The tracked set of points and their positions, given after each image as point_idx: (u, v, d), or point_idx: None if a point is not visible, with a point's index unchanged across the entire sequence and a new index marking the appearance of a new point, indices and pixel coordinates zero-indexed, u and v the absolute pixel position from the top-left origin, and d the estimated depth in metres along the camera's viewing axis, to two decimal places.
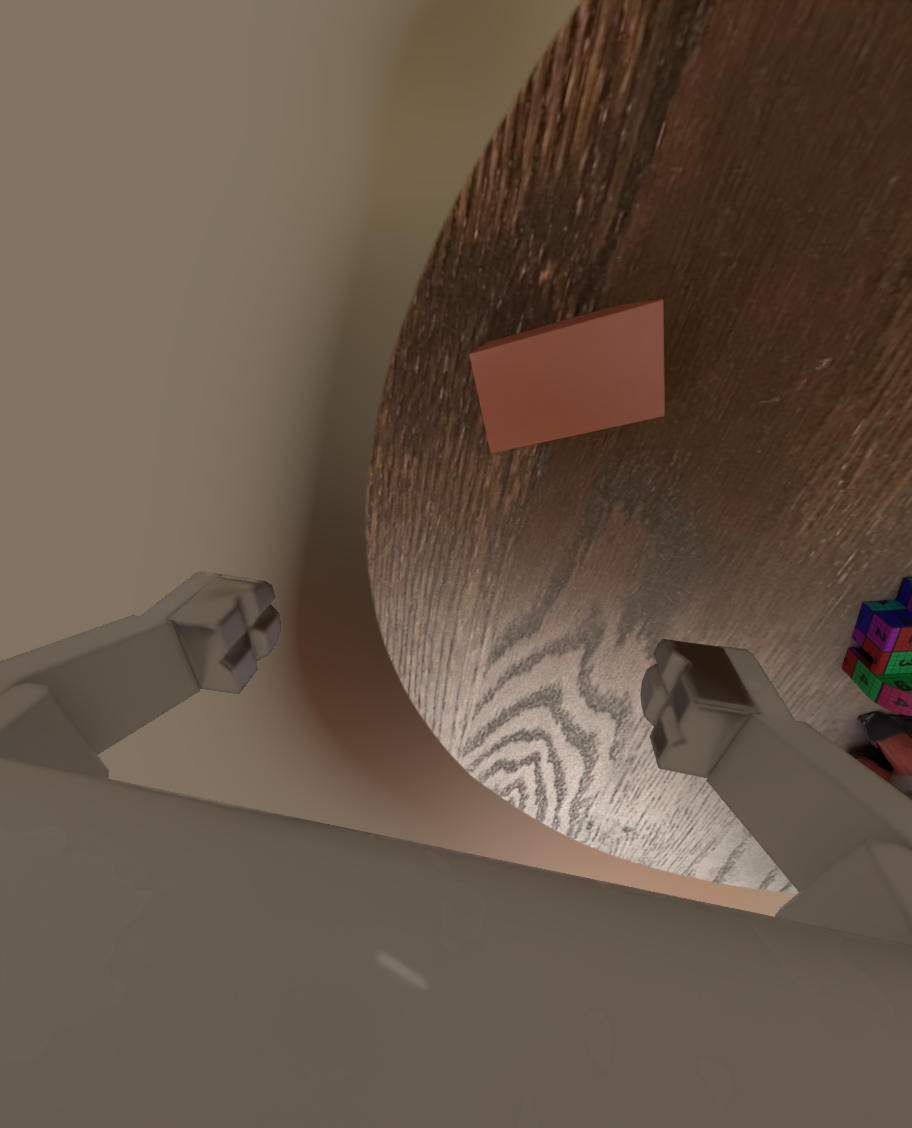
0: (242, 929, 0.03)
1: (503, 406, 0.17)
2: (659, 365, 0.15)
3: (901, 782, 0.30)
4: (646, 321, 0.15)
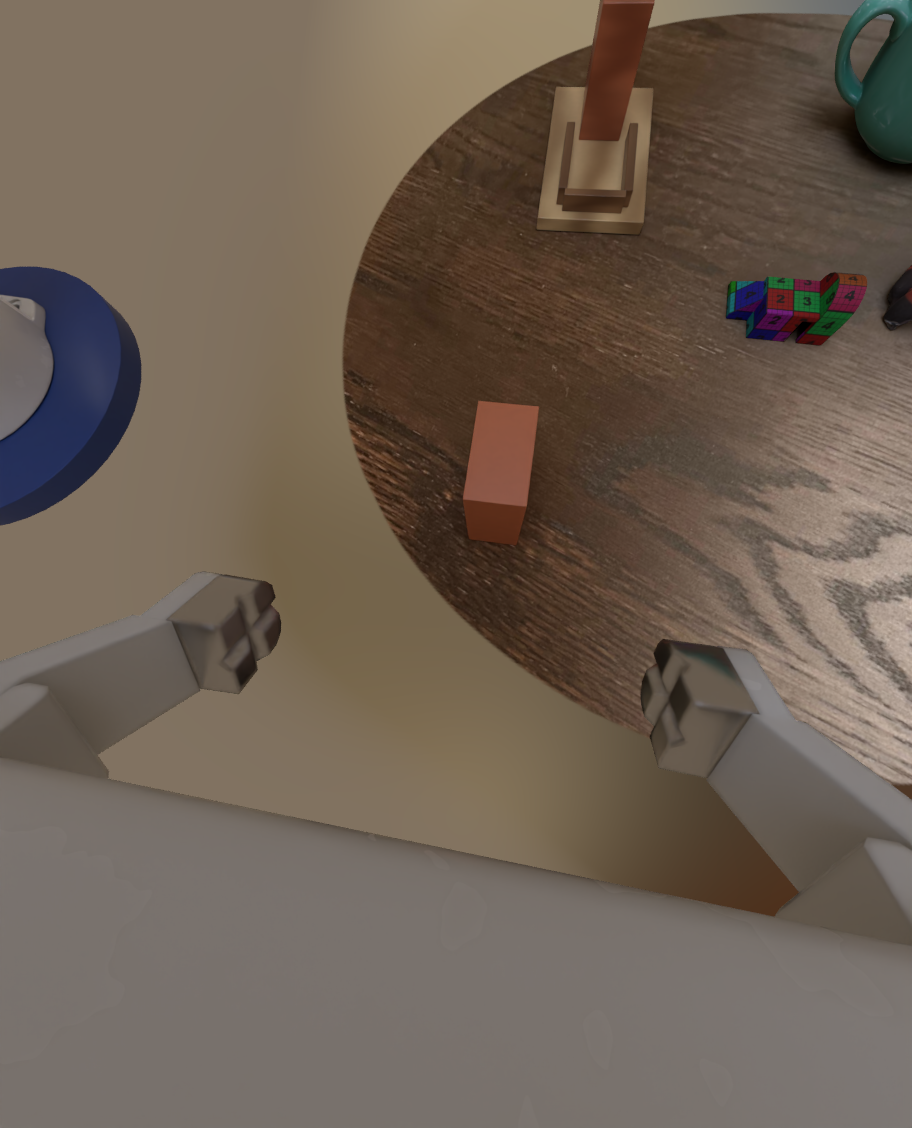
0: (242, 929, 0.03)
1: (499, 489, 0.26)
2: (509, 405, 0.27)
3: None
4: (485, 409, 0.27)
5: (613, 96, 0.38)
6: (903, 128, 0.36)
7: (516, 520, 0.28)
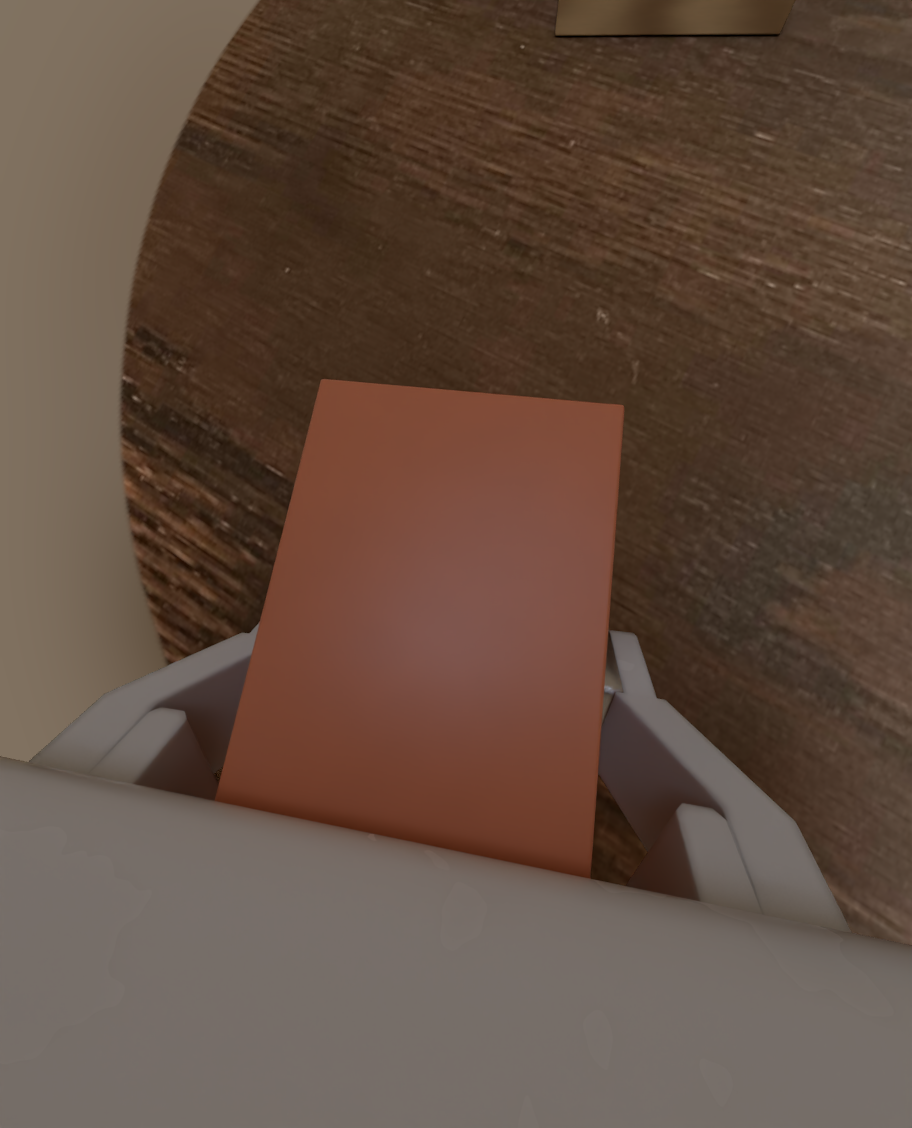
0: (242, 929, 0.03)
1: None
2: (472, 401, 0.05)
3: None
4: (351, 418, 0.05)
5: None
6: None
7: None
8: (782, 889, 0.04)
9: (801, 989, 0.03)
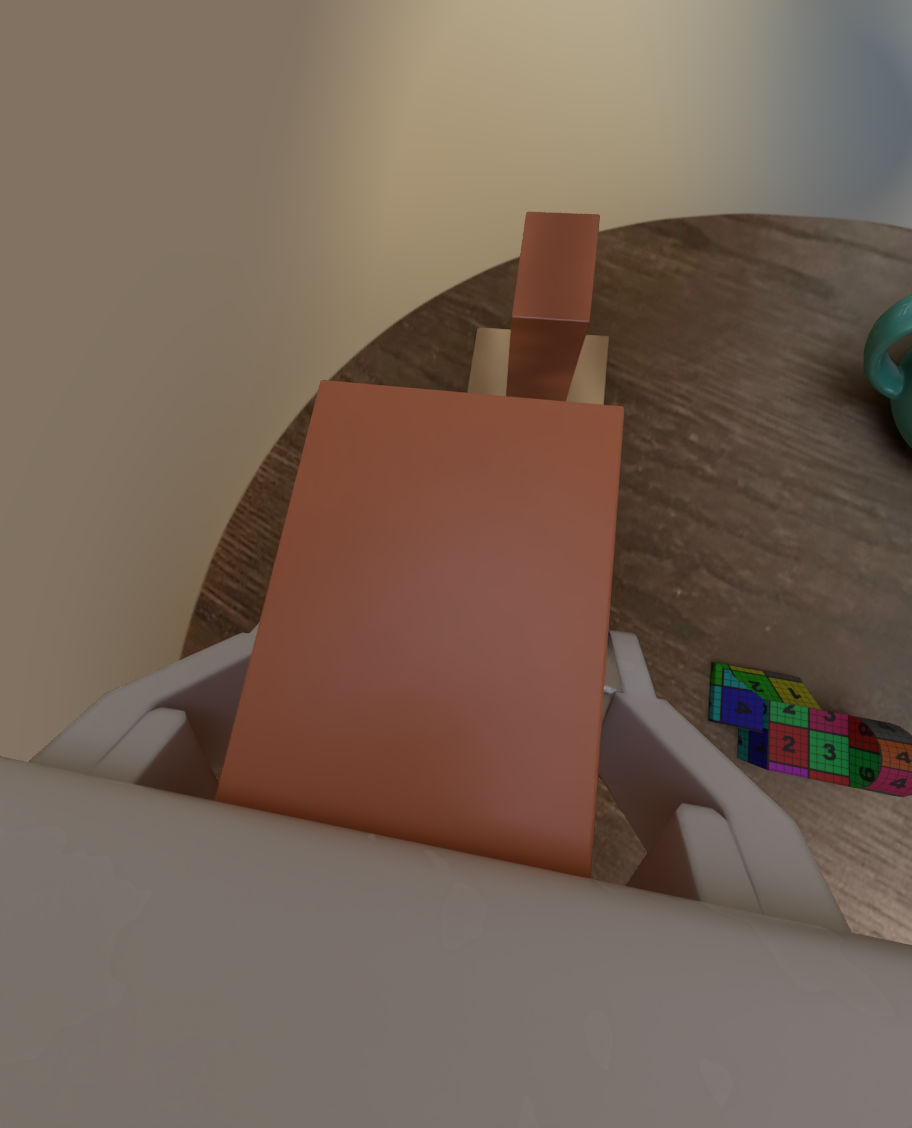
0: (242, 929, 0.03)
1: None
2: (472, 403, 0.05)
3: None
4: (350, 418, 0.05)
5: (544, 390, 0.26)
6: None
7: None
8: (782, 889, 0.04)
9: (801, 989, 0.03)
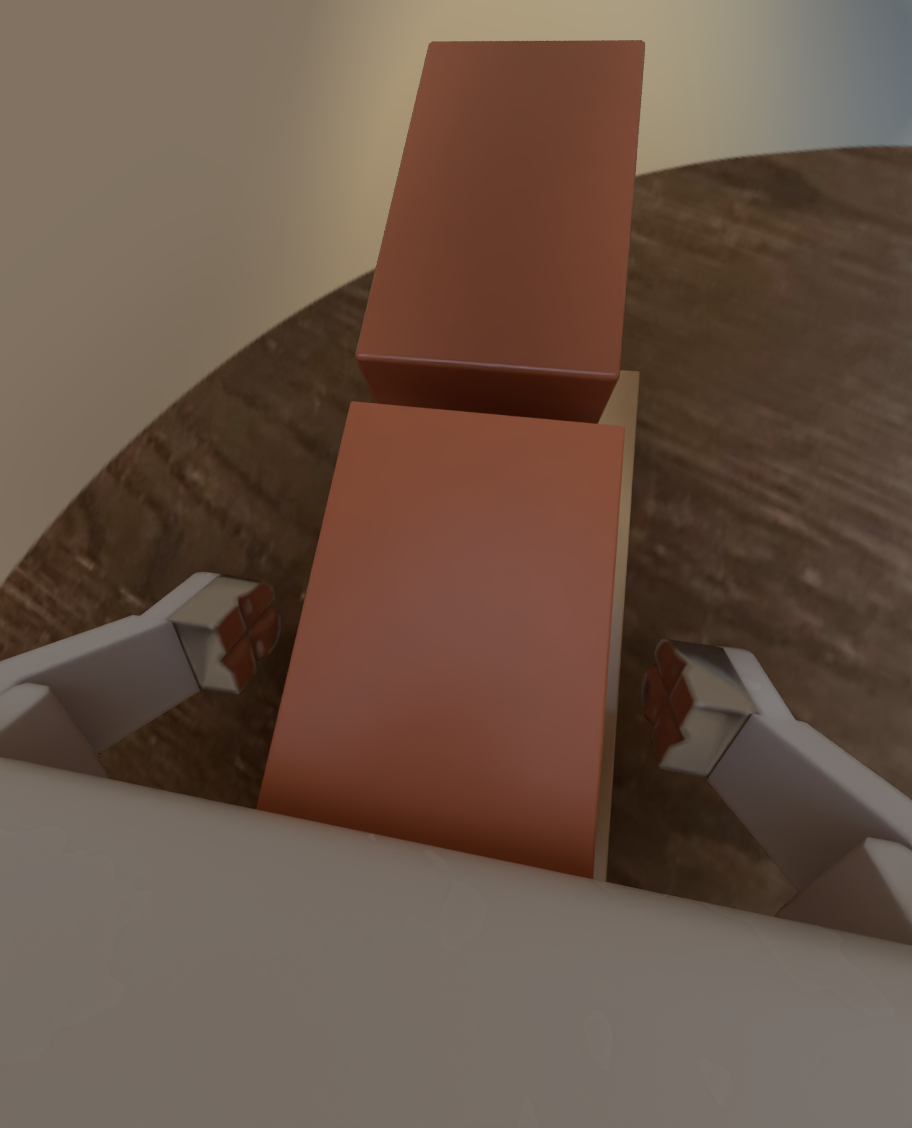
0: (242, 929, 0.03)
1: None
2: (488, 422, 0.06)
3: None
4: (378, 437, 0.06)
5: None
6: None
7: None
8: None
9: (801, 989, 0.03)
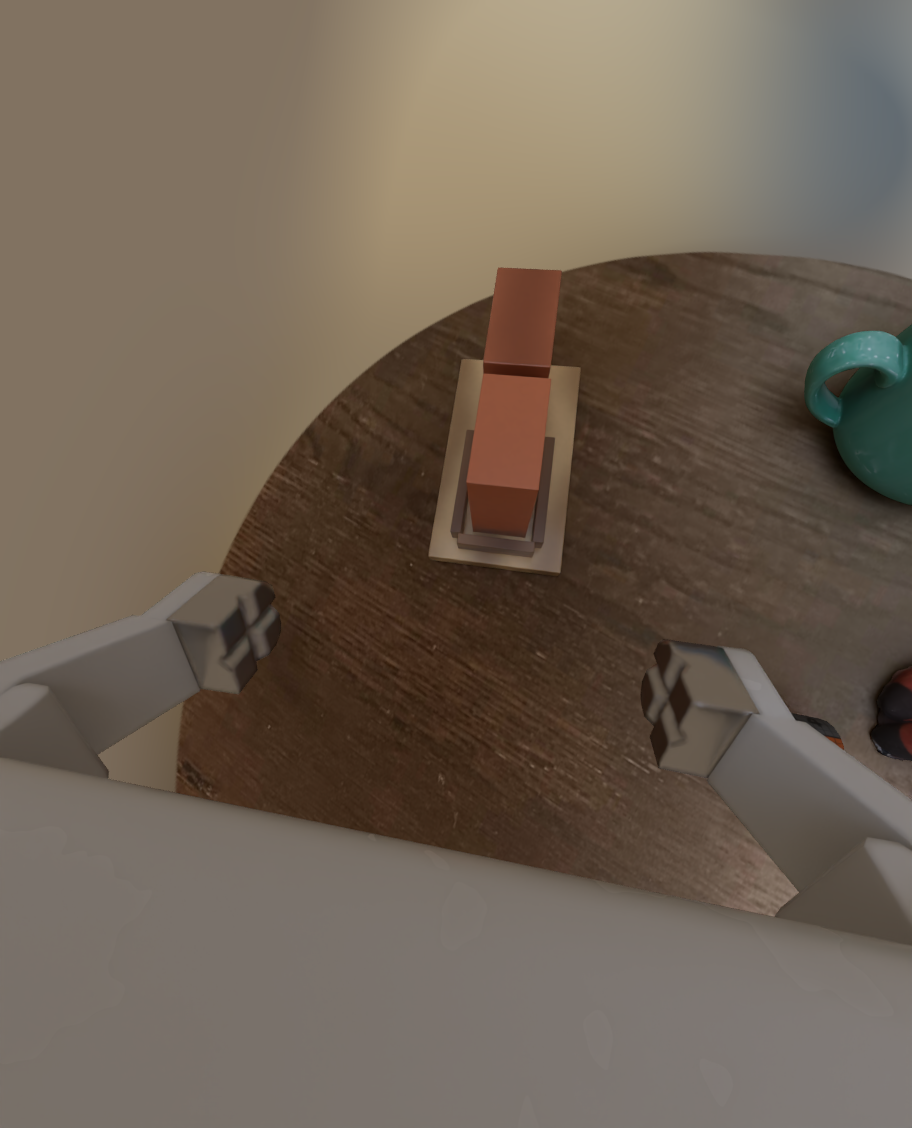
0: (242, 929, 0.03)
1: (508, 471, 0.23)
2: (518, 378, 0.24)
3: None
4: (491, 382, 0.24)
5: None
6: (894, 484, 0.27)
7: (526, 508, 0.25)
8: None
9: (801, 989, 0.03)
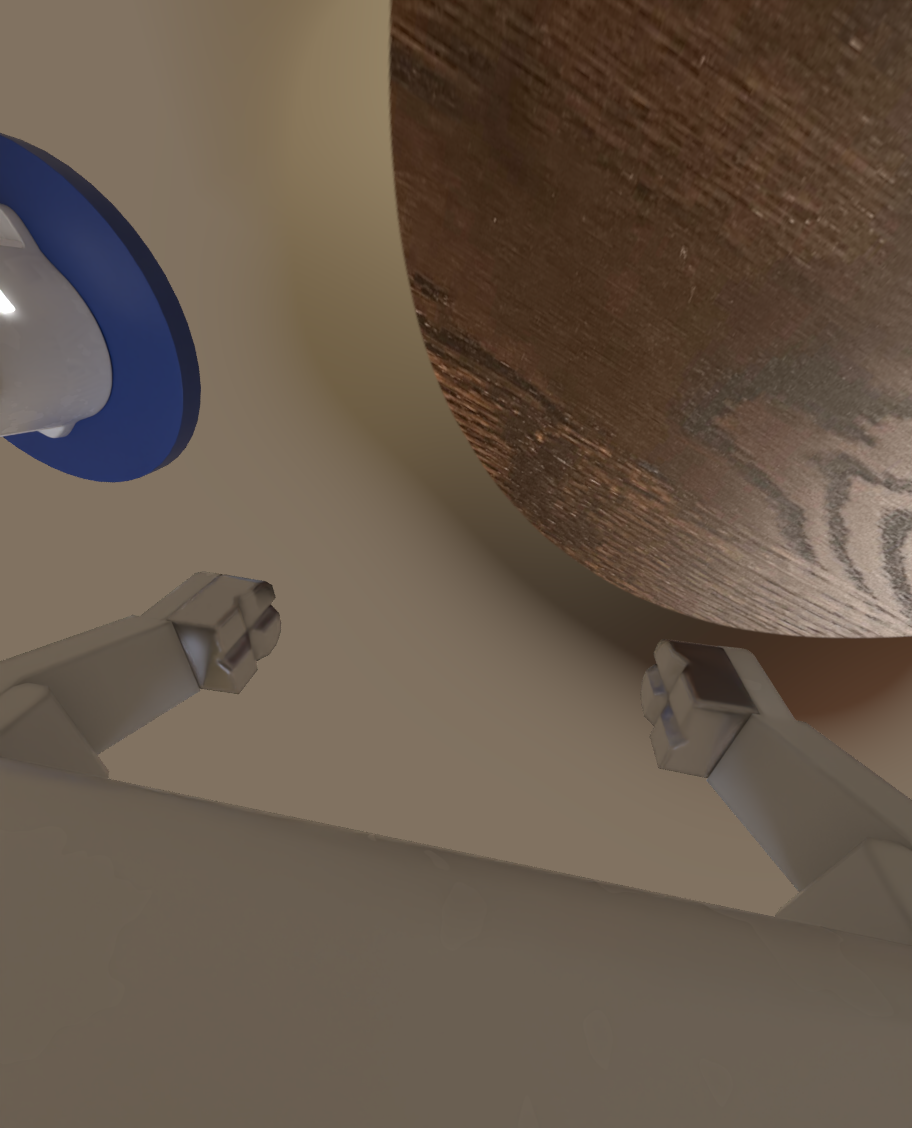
0: (242, 929, 0.03)
1: None
2: None
3: None
4: None
5: None
6: None
7: None
8: None
9: (801, 989, 0.03)
